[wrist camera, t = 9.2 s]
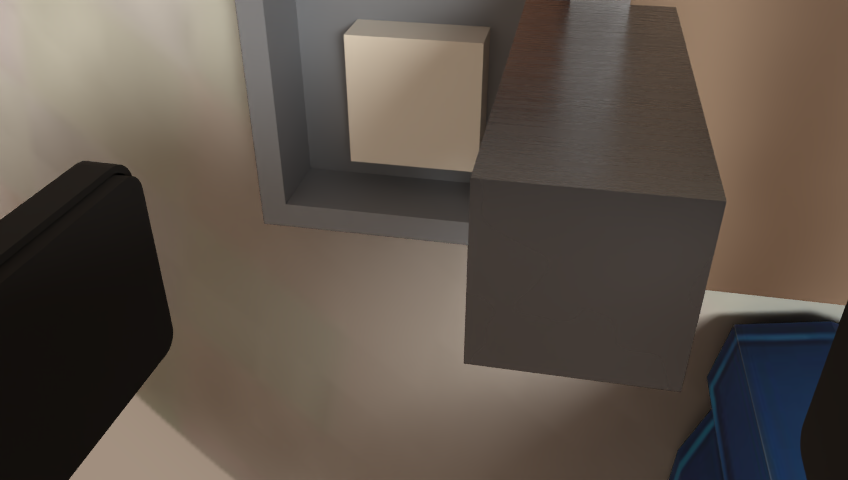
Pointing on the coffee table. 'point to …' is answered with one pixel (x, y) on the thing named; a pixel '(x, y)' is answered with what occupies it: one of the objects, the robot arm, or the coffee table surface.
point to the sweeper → (593, 200)
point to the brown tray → (775, 140)
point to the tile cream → (416, 93)
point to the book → (757, 404)
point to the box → (329, 124)
